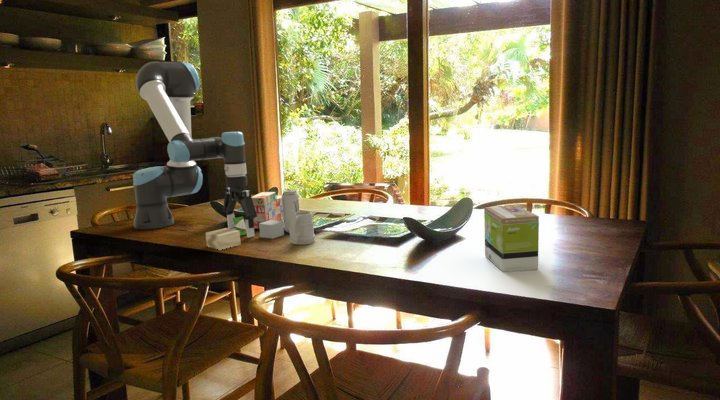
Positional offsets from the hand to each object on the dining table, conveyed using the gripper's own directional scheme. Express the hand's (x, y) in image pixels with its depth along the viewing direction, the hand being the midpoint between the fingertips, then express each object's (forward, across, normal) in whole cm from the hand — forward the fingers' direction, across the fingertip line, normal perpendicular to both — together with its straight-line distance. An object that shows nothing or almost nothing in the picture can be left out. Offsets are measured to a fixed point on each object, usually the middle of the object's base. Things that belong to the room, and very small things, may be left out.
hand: (241, 234), depth 188 cm
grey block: (0, +11, +6) cm, 13 cm away
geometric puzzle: (0, 0, 0) cm, 0 cm away
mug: (0, +28, +6) cm, 29 cm away
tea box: (+1, +92, +29) cm, 96 cm away
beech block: (0, +9, -12) cm, 15 cm away
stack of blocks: (+1, -9, +18) cm, 20 cm away
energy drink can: (0, +11, +15) cm, 19 cm away
